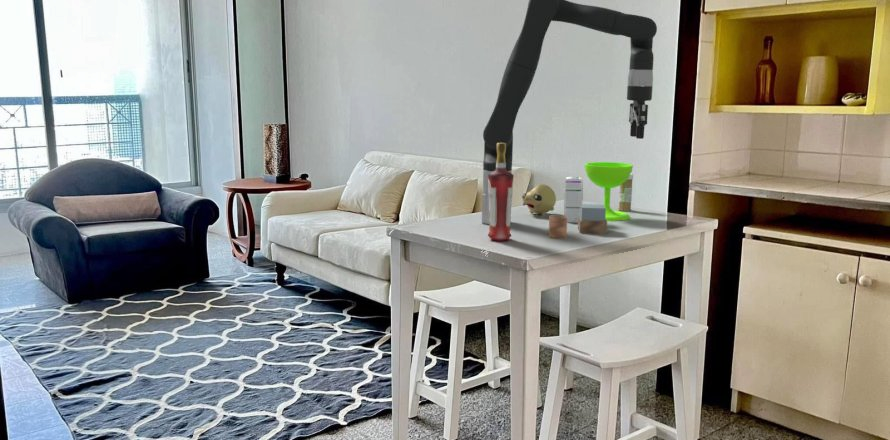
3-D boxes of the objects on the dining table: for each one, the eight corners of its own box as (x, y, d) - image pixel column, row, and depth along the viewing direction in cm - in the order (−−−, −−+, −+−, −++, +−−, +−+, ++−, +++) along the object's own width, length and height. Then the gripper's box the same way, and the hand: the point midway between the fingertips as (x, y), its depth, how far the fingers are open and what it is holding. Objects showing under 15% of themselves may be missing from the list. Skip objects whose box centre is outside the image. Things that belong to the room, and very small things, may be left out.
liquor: (485, 237, 215) (486, 142, 210) (510, 236, 216) (512, 142, 211) (488, 242, 208) (490, 144, 203) (514, 242, 209) (516, 144, 204)
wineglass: (632, 221, 241) (635, 167, 238) (583, 220, 244) (585, 166, 241) (628, 213, 257) (630, 162, 254) (582, 212, 259) (584, 161, 256)
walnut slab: (579, 233, 222) (580, 221, 222) (578, 228, 230) (578, 216, 229) (606, 234, 221) (607, 221, 221) (603, 229, 229) (604, 217, 229)
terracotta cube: (549, 238, 215) (549, 218, 214) (548, 234, 220) (549, 215, 219) (566, 238, 214) (567, 218, 213) (565, 235, 219) (566, 215, 218)
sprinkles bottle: (616, 209, 265) (618, 172, 263) (628, 209, 266) (630, 172, 263) (620, 211, 261) (622, 174, 258) (633, 211, 261) (635, 174, 259)
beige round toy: (516, 214, 253) (517, 184, 251) (538, 210, 261) (539, 181, 259) (539, 218, 246) (540, 187, 244) (560, 214, 255) (561, 184, 253)
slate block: (581, 220, 222) (582, 207, 221) (580, 216, 229) (580, 204, 228) (605, 221, 221) (605, 208, 221) (602, 217, 228) (603, 204, 227)
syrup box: (581, 223, 239) (583, 179, 236) (563, 222, 240) (564, 178, 237) (581, 220, 244) (583, 176, 241) (564, 219, 245) (565, 176, 243)
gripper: (623, 84, 232) (620, 135, 235) (632, 84, 218) (629, 139, 221) (646, 85, 232) (643, 136, 235) (658, 85, 218) (654, 139, 221)
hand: (636, 137), depth 228 cm, fingers open, 8 cm apart
